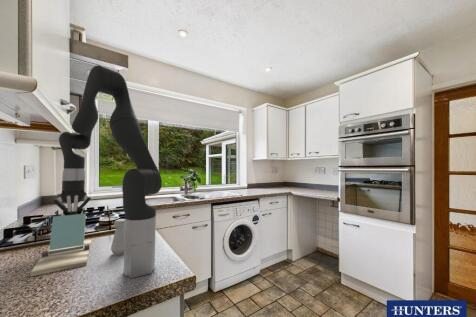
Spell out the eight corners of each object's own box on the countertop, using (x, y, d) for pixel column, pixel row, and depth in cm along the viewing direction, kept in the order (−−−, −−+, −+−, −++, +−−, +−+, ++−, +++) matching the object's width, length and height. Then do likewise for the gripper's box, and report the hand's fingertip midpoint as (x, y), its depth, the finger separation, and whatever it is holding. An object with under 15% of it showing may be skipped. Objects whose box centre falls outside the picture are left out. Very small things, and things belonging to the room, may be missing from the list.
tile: (83, 248, 80) (83, 248, 79) (49, 254, 75) (48, 254, 74) (85, 214, 85) (85, 213, 84) (53, 217, 79) (53, 216, 78)
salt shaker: (120, 257, 76) (121, 222, 77) (107, 255, 77) (108, 221, 78) (131, 251, 82) (132, 218, 82) (118, 249, 83) (119, 217, 84)
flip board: (86, 265, 70) (86, 256, 70) (29, 276, 63) (30, 267, 63) (91, 241, 92) (92, 235, 92) (50, 247, 85) (50, 240, 85)
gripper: (51, 180, 80) (49, 224, 80) (92, 179, 88) (90, 220, 87) (55, 179, 87) (53, 220, 86) (93, 178, 94) (92, 216, 93)
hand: (72, 220), depth 86 cm, fingers closed
